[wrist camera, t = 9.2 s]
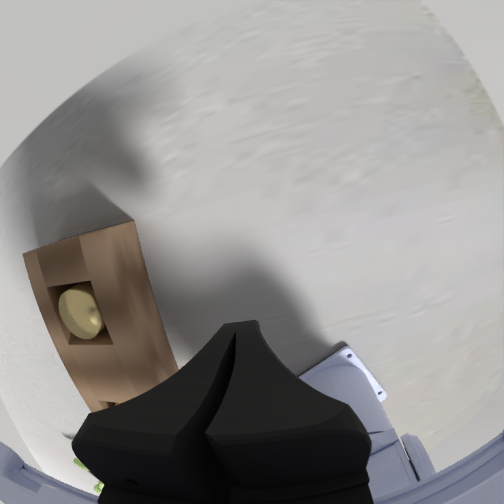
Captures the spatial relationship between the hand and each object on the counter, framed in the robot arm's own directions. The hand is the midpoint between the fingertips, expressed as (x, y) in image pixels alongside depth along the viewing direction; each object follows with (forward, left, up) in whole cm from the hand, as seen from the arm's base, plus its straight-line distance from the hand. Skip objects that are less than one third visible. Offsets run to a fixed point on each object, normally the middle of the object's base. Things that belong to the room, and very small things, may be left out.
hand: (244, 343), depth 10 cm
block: (+1, +14, -10) cm, 18 cm away
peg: (+6, +11, -10) cm, 17 cm away
